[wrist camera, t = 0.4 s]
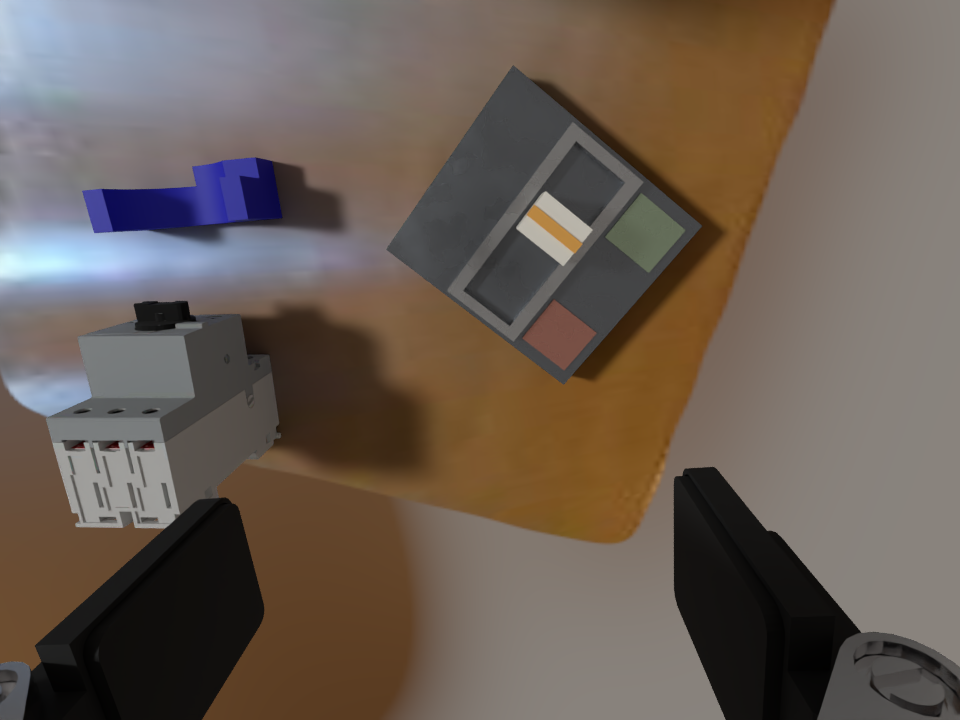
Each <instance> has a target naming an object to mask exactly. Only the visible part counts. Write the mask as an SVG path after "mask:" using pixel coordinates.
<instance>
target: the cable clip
mask: <svg viewBox="0 0 960 720" xmlns="http://www.w3.org/2000/svg"><path fill="white" fill-rule="evenodd" d="M193 172H194V176H195V181H196V185H197V186H195V187H183V188H166V189H135V190H118V189H96V190H86V191H82V192H83V195H84V199H85V202H86V206H87V209H88V213H89V216H90V220H91V223H92V227H93V230H94V233H103V232H123V231H143V230H156V229H167V228H179V227H190V226H201V225H212V224H223V223H234V222H246V221H257V220H268V219H279V218H282V213H281V207H280V202H279V197H278V191H277V186H276V180H275V175H274V169H273V164H272V161H269V160H265V159H260V158H245V159H235V160H225V161H221V162H218V163H214V164H209V165H202V166H193Z"/></svg>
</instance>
